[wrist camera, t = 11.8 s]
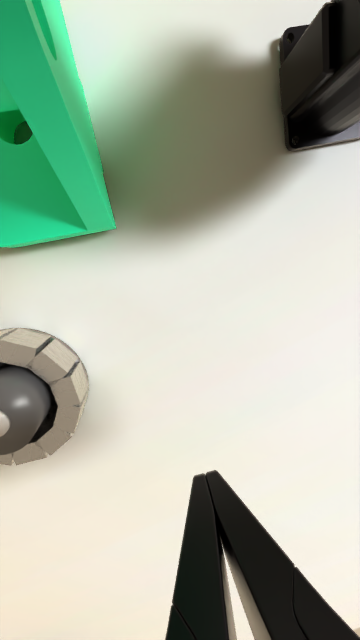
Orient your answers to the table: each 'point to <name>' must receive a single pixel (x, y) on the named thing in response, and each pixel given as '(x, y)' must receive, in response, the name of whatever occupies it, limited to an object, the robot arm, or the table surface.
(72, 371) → the grey piece
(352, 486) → the table surface
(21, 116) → the camera mount
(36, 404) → the cap
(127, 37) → the table surface
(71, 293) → the table surface
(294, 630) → the robot arm
